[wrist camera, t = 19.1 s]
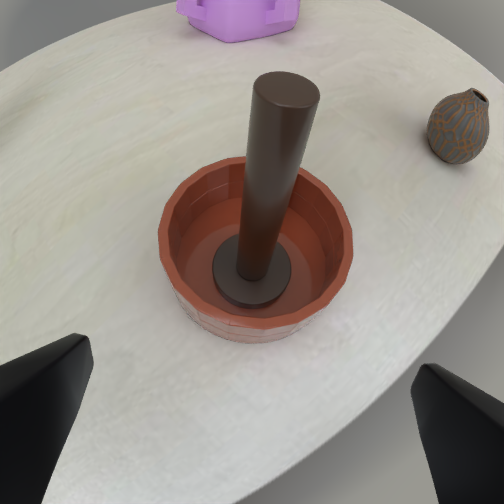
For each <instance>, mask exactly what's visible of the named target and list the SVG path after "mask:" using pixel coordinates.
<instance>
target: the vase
mask: <svg viewBox="0 0 504 504" xmlns="http://www.w3.org/2000/svg"><path fill="white" fill-rule="evenodd" d="M488 107H489V101H488V99H487V98H486V97H485V96H484V95H483V94H482V93H481V92H480V91H478V90H476V89H474V88H470V89H469V90H467V91H465V92H462V93H457V94H453V95H450V96H447V97H445V98H444V99H442V100H441V101H440V102H439V103H438V104H437V105H436V106H435V108H434V109H433V111H432V113H431V115H430V117H429V120H428V125H427V136H428V140H429V143H430V146H431V148H432V149H433V151H434V152H435V153H436V154H437V155H438V156H439V157H440V158H441V159H443V160H444V161H446V162H449V163H453V164H462V163H466V162H469V161H470V160H472V159H474V158H475V157H476V156H477V155H478V154H479V153H480V152H481V151H482V149H483V148H484V146H485V144H486V142H487V139H488V135H489V117H488Z"/></svg>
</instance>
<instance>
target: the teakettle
mask: <svg viewBox="0 0 504 504" xmlns="http://www.w3.org/2000/svg"><path fill="white" fill-rule="evenodd" d="M299 8H300V0H177V7H176V12H178V13H180V14H182V15H185V16H187V17H188V20H189V22H190V24H191V25H192V26H194V27H196V28H198V29H200V30H201V31H203V32H205V33H207V34H209V35H211V36H213V37H215V38H217V39H219V40H222V41H224V42H228V43H231V42H239V41H245V40H250V39H256V38H261V37H266V36H270V35H274V34H278V33H281V32H285V31H288V30H291V29H292V28H293V27H294V25H295V23H296V21H297V19H298V15H299Z"/></svg>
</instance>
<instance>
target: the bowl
mask: <svg viewBox="0 0 504 504" xmlns="http://www.w3.org/2000/svg"><path fill="white" fill-rule="evenodd" d="M245 163H246V156H244V157H234V158H227V159H223V160H221V161H218V162H215V163H213V164H210V165H207V166H205V167H202V168H201V169H199V170H198V171H197V172H195V173H194V174H192V175H191V176H190V177H188V178H187V179H186V180H184V181H183V182H182V183H181V184H180V185H179V186H178V188H177V189H176V190H175V192H174V193H173V195H172V196H171V197H170V199H169V200H168V202H167V203H166V205H165V207H164V211H163V214H162V218H161V221H160V225H159V228H158V242H159V254H160V260H161V263H162V265H163V267H164V270H165V272H166V274H167V277H168V279H169V281H170V283H171V286H172V288H173V290H174V292H175V294H176V296H177V298H178V300H179V302H180V304H181V306H182V307H183V309H184V310H185V311H186V312H187V313H188V315H189V316H190V317H191V318H192V319H193V320H194V321H195V322H196V323H198V324H199V325H200V326H202V327H203V328H204V329H206V330H208V331H209V332H211V333H213V334H215V335H217V336H219V337H222V338H224V339H227V340H231V341H235V342H241V343H265V342H271V341H275V340H278V339H282V338H284V337H287V336H289V335H291V334H293V333H295V332H296V331H298V330H299V329H301V328H302V327H304V326H305V325H307V324H309V323H310V322H311V321H312V320H313V319H314V318H315V317H316V316H317V315H318V314H319V313H320V312H321V311H322V310H323V309H324V308H325V307H326V306H327V305H328V304H329V303H330V301H331V300H332V299H333V298H334V296H335V295H336V294H337V293H338V291H339V290H340V289H341V288H342V286H343V285H344V283H345V281H346V278H347V275H348V272H349V269H350V266H351V263H352V259H353V239H352V228H351V226H350V223H349V221H348V218H347V216H346V213H345V211H344V208H343V206H342V204H341V203H340V202H339V200H338V199H337V198H336V197H335V195H334V194H333V193H332V192H331V190H330V189H329V188H328V187H327V185H325V184H324V183H323V182H321V181H320V180H319V179H317V178H316V177H315V176H313V175H312V174H310V173H309V172H308V171H306V170H304V169H303V168H299V171H298V174H297V178H296V181H295V184H294V188H293V191H292V194H291V197H290V201H289V204H288V207H287V210H286V214H285V217H284V220H283V223H282V227H281V230H280V233H279V236H278V239H277V242H279V243H280V244H281V245H282V246H283V248H284V249H285V250H286V252H287V254H288V256H289V259H290V262H291V277H290V281H289V283H288V285H287V287H286V289H285V291H284V292H283V294H282V295H281V296H280V297H279V299H277V300H276V301H275V302H273V303H272V304H270V305H268V306H266V307H262V308H257V309H247V308H242V307H238V306H236V305H234V304H232V303H230V302H229V301H227V300H226V299H225V298H224V297H223V296H222V295H221V294H220V293H219V291H218V290H217V288H216V286H215V283H214V280H213V272H212V263H213V258H214V255H215V253H216V251H217V249H218V248H219V246H220V245H221V244H222V243H223V242H224V241H225V240H227V239H228V238H230V237H232V236H234V235H236V234H239V228H240V217H241V206H242V195H243V184H244V174H245Z"/></svg>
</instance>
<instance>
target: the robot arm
mask: <svg viewBox="0 0 504 504" xmlns="http://www.w3.org/2000/svg"><path fill="white" fill-rule="evenodd" d="M93 364H94V362H93V356H92V351H91V345H90V341H89V338H88V337H87V336H86V335H81V334H77V333H73V334H70V335H68V336H66V337H64V338H61V339H59V340H57V341H55V342H52V343H50V344H48V345H46V346H43V347H41V348H39V349H37V350H34V351H32V352H30V353H28V354H25V355H23V356H21V357H18V358H16V359H14V360H12V361H9V362H7V363H5V364H3V365H0V504H41V503H42V500H43V497H44V495H45V492H46V489H47V487H48V484H49V481H50V479H51V476H52V474H53V471H54V468H55V466H56V463H57V461H58V459H59V456H60V454H61V451H62V449H63V446H64V444H65V442H66V439H67V437H68V435H69V432H70V430H71V428H72V426H73V423H74V421H75V419H76V416H77V414H78V411H79V408H80V406H81V402H82V399H83V396H84V393H85V390H86V387H87V384H88V381H89V378H90V375H91V373H92V370H93ZM411 397H412V401H413V406H414V410H415V415H416V419H417V424H418V429H419V433H420V437H421V441H422V444H423V447H424V451H425V454H426V457H427V461H428V464H429V468H430V471H431V475H432V478H433V482H434V486H435V490H436V494H437V498H438V502H439V504H504V403H502V402H501V401H499V400H497V399H496V398H494V397H492V396H491V395H489V394H487V393H485V392H484V391H482V390H480V389H479V388H477V387H475V386H473V385H472V384H470V383H468V382H467V381H465V380H463V379H462V378H460V377H458V376H456V375H455V374H453V373H451V372H449V371H448V370H446V369H445V368H443V367H441V366H440V365H438V364H436V363H425V364H423V365H422V366H421V367H420V369H419V371H418V373H417V375H416V377H415V379H414V381H413V383H412V386H411Z"/></svg>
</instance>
